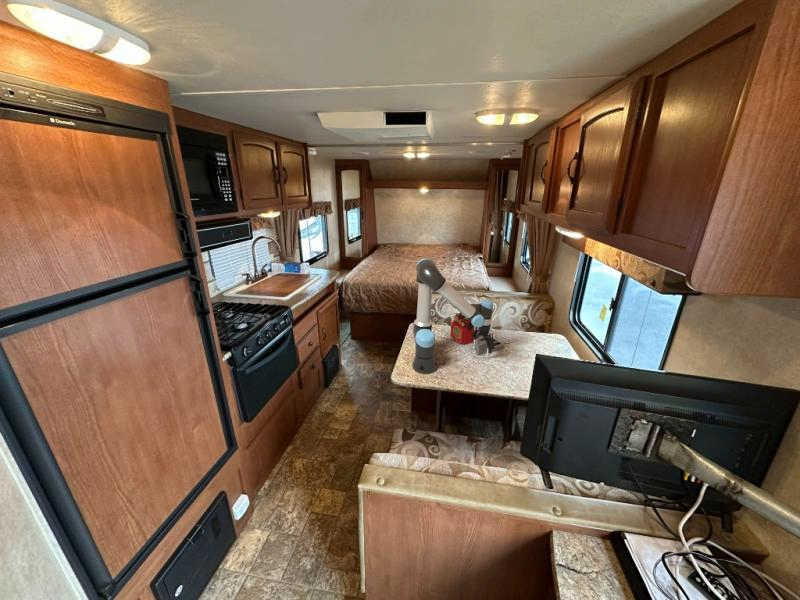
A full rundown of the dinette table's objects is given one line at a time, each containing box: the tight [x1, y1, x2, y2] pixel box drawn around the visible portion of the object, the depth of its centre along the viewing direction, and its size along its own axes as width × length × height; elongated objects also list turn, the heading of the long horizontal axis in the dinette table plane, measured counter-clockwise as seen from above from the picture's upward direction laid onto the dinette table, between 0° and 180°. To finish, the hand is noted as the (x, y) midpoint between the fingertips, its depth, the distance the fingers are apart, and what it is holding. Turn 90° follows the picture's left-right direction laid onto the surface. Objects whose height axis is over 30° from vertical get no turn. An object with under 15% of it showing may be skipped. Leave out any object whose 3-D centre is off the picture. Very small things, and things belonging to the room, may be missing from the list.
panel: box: [475, 341, 488, 357], centre depth 203 cm, size 8×2×8 cm, turn 118°
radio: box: [450, 312, 475, 345], centre depth 218 cm, size 16×10×20 cm, turn 28°
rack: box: [477, 336, 505, 354], centre depth 214 cm, size 12×15×4 cm
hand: (481, 352), depth 205 cm, fingers open, 12 cm apart
